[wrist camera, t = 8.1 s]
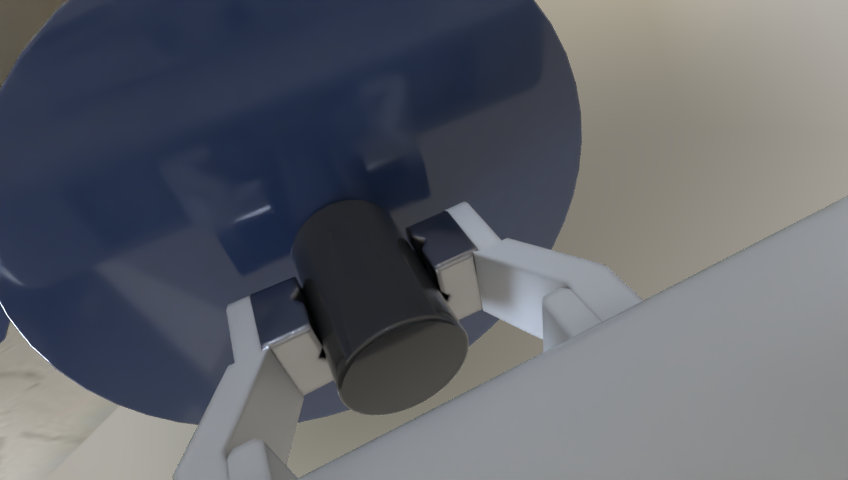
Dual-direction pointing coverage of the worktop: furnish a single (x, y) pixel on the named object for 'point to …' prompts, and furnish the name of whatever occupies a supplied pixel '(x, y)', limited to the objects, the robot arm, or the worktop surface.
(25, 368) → the worktop surface
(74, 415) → the worktop surface
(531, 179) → the lid
